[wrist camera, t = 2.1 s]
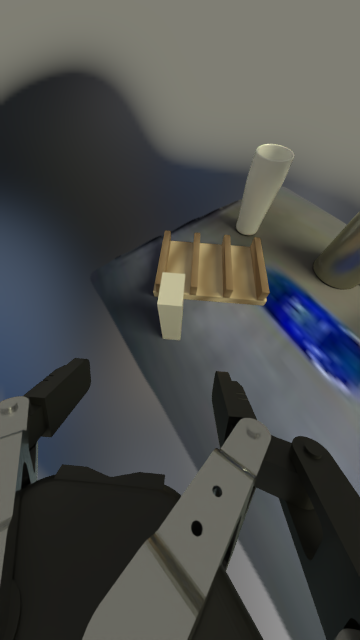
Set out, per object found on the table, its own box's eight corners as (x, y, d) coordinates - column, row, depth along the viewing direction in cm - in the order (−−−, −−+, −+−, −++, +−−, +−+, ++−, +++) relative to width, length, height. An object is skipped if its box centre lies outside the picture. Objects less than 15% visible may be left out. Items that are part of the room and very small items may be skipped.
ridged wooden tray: (255, 253, 42) (263, 237, 38) (263, 305, 35) (273, 293, 32) (163, 245, 42) (162, 230, 39) (154, 296, 36) (151, 283, 32)
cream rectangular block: (182, 314, 34) (185, 274, 24) (180, 340, 32) (182, 306, 22) (166, 313, 34) (162, 272, 24) (162, 338, 32) (157, 304, 22)
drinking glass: (239, 217, 48) (263, 140, 34) (264, 226, 46) (300, 149, 33) (227, 231, 45) (249, 154, 32) (253, 242, 43) (288, 165, 30)
